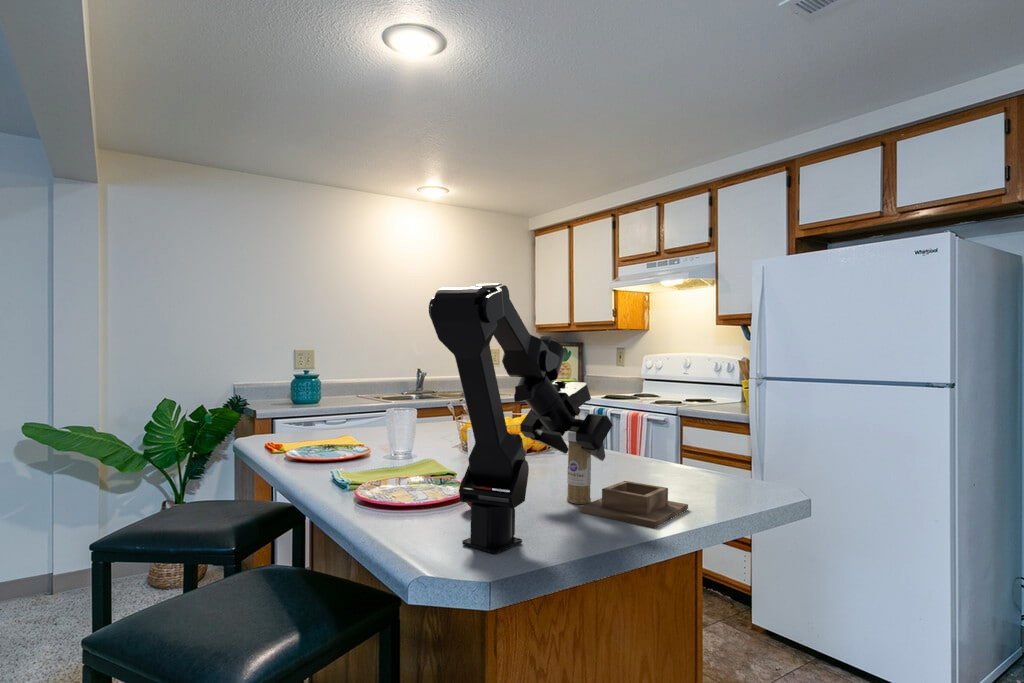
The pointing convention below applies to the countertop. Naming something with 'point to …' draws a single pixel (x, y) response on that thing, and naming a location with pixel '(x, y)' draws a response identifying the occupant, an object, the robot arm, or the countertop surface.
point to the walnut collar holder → (635, 504)
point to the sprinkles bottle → (578, 472)
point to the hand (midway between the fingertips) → (584, 455)
